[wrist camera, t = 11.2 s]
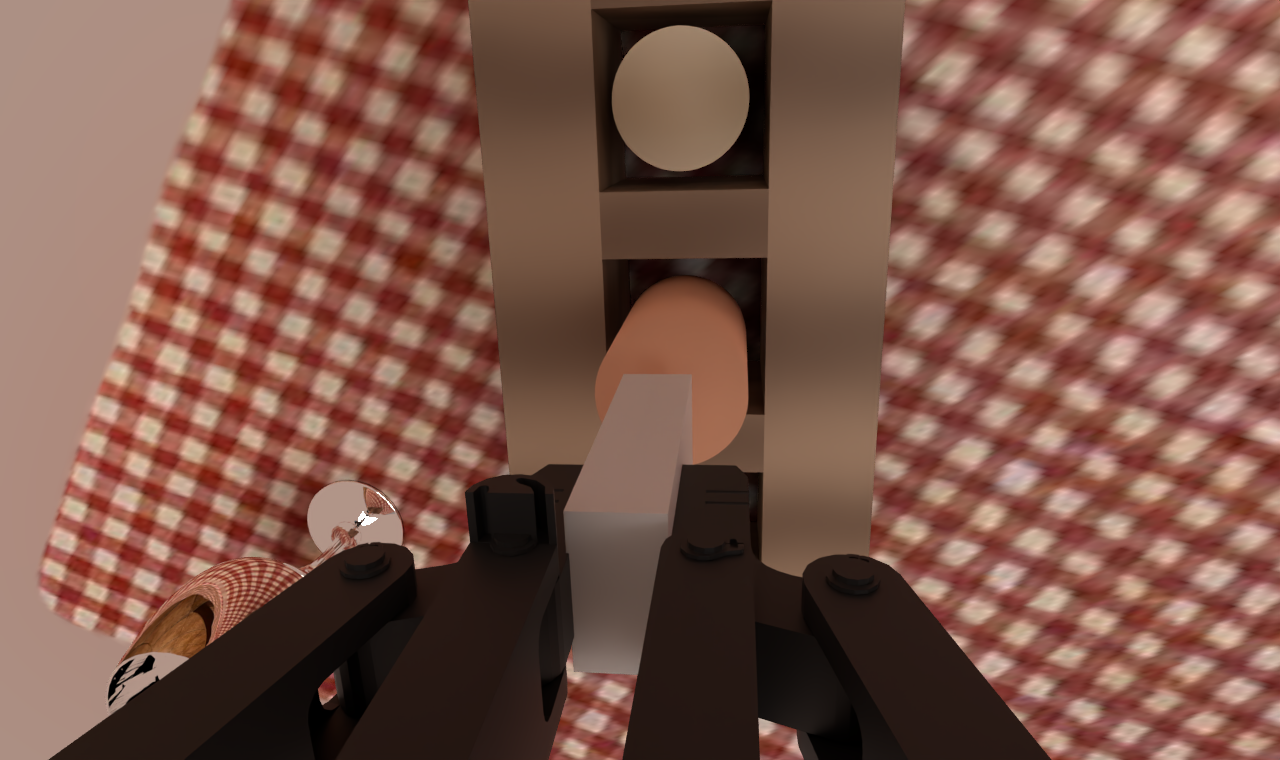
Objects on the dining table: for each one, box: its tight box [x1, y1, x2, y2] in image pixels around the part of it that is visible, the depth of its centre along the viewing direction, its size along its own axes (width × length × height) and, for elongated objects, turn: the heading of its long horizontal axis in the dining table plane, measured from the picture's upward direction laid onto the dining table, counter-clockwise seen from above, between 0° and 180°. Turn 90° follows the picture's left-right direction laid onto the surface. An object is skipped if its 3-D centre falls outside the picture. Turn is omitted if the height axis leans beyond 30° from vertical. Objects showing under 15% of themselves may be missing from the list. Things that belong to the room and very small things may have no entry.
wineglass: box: [105, 480, 404, 716], centre depth 30 cm, size 6×6×12 cm
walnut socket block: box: [468, 0, 905, 577], centre depth 28 cm, size 22×12×6 cm, turn 2°
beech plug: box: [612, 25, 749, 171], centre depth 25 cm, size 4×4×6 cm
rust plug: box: [595, 275, 748, 465], centre depth 23 cm, size 4×4×6 cm
